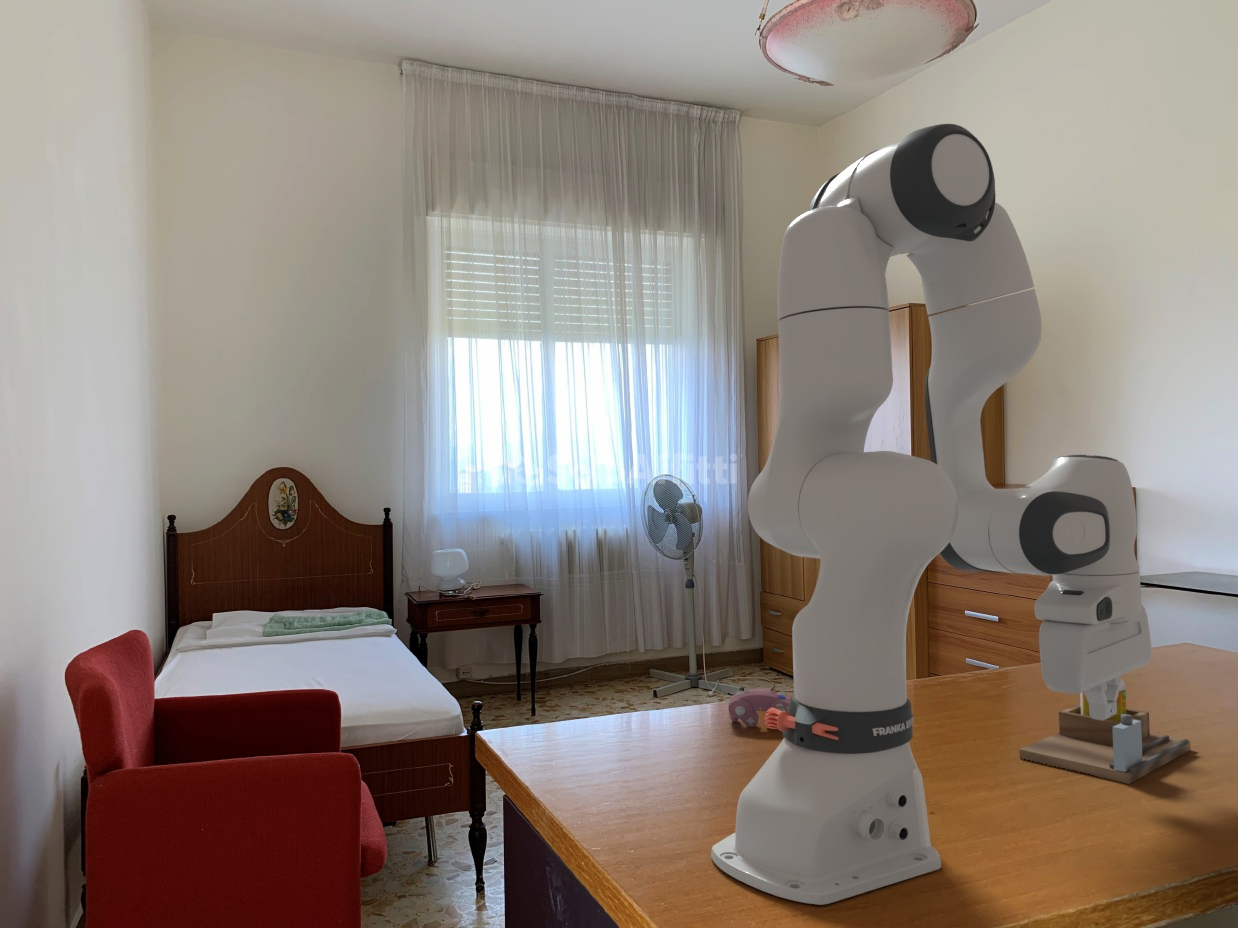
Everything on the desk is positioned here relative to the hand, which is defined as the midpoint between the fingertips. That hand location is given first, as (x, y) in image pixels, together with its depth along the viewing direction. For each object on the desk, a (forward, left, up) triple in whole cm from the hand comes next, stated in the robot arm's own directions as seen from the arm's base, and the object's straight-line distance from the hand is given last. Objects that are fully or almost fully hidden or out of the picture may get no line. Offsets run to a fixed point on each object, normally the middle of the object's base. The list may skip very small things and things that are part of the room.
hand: (1103, 717), depth 101 cm
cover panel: (+7, 0, -7) cm, 10 cm away
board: (+14, +6, -8) cm, 17 cm away
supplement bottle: (+18, +8, -7) cm, 21 cm away
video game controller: (-8, +45, -9) cm, 47 cm away
